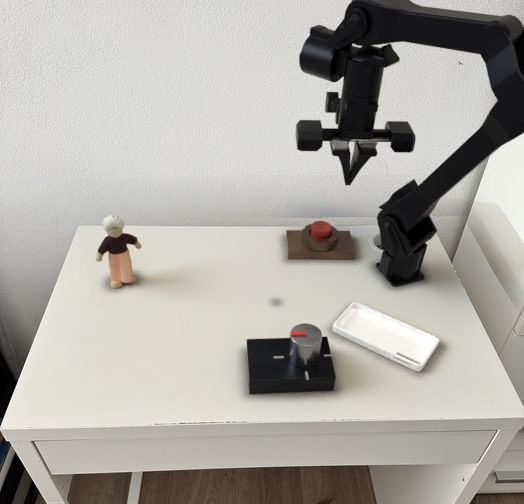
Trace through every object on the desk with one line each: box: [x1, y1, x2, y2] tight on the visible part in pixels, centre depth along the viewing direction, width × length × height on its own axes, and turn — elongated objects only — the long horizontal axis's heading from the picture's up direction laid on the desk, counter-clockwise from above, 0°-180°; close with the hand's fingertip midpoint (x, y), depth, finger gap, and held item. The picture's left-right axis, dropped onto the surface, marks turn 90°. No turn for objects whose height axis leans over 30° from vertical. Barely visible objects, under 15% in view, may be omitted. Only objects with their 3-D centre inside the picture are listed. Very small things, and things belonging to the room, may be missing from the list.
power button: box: [311, 220, 331, 239], centre depth 97 cm, size 4×4×2 cm
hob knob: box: [288, 322, 323, 368], centre depth 75 cm, size 4×4×5 cm
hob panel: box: [246, 336, 337, 395], centre depth 77 cm, size 12×9×3 cm
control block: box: [285, 223, 355, 261], centre depth 98 cm, size 12×7×4 cm, turn 91°
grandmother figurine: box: [95, 214, 143, 289], centre depth 88 cm, size 8×4×13 cm, turn 131°
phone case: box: [332, 301, 440, 372], centre depth 83 cm, size 7×1×15 cm
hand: (347, 184), depth 93 cm, fingers closed
